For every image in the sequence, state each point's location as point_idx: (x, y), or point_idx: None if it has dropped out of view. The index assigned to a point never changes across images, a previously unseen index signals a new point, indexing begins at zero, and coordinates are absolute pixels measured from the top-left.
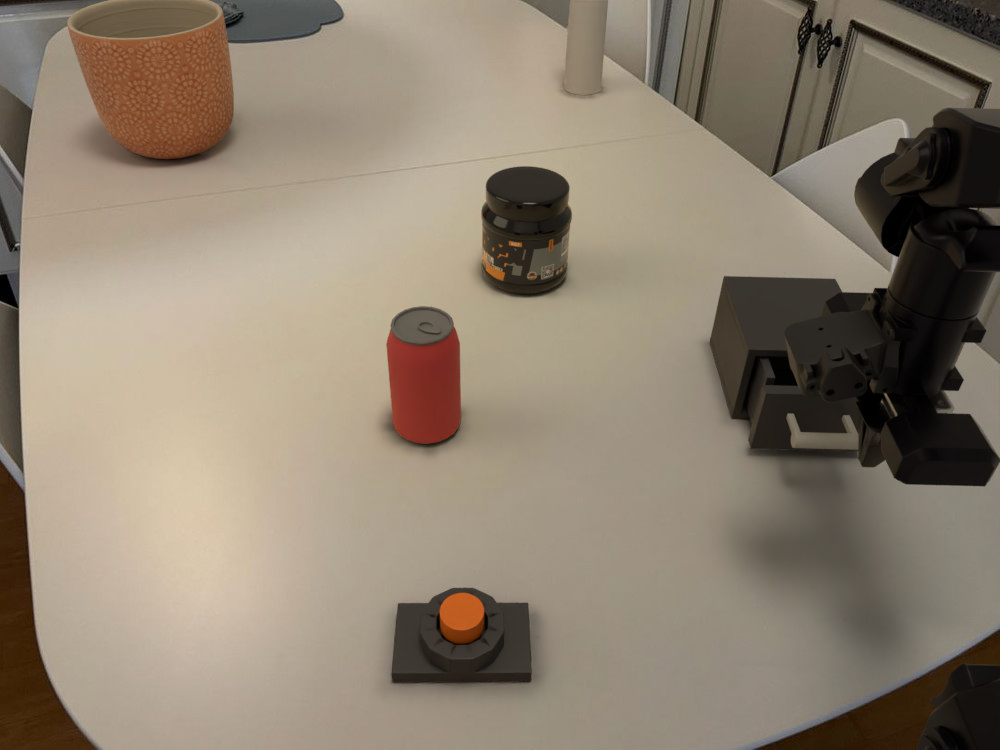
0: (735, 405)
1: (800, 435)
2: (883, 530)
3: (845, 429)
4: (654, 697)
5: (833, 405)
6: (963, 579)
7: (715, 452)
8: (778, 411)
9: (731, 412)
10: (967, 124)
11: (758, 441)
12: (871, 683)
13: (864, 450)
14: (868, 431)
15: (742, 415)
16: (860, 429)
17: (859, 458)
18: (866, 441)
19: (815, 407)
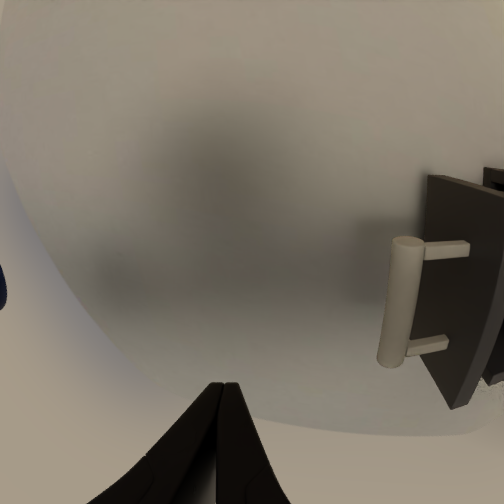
0: (500, 171)
1: (411, 257)
2: (276, 335)
3: (432, 332)
4: (21, 52)
5: (465, 332)
6: None
7: (423, 120)
8: (475, 226)
9: (492, 168)
10: None
11: (435, 187)
12: (57, 263)
13: (189, 422)
14: (150, 488)
15: (487, 183)
16: (239, 453)
17: (229, 387)
18: (171, 452)
19: (470, 300)
